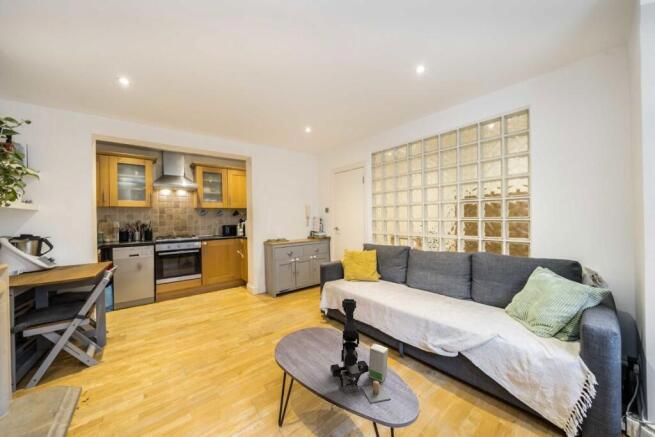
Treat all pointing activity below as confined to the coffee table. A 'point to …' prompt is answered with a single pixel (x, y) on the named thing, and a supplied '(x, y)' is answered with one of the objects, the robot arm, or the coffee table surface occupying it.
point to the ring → (349, 388)
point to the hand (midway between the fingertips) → (349, 385)
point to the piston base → (376, 397)
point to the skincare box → (378, 362)
